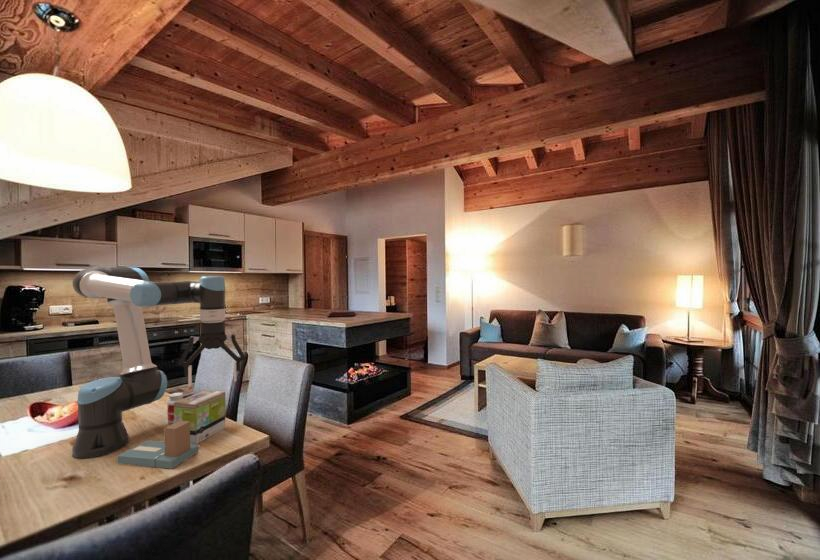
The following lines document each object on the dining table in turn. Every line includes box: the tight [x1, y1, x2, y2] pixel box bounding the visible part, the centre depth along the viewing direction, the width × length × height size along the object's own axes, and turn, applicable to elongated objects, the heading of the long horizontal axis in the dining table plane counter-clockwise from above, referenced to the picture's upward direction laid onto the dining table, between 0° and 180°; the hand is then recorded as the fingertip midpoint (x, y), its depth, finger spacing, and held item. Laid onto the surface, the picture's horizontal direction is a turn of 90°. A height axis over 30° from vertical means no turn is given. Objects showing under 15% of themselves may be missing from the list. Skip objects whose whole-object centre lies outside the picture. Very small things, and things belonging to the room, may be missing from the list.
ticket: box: [116, 439, 165, 468], centre depth 122 cm, size 14×11×3 cm
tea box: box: [173, 389, 226, 445], centre depth 138 cm, size 15×10×15 cm
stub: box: [155, 421, 200, 470], centre depth 120 cm, size 6×11×11 cm, turn 169°
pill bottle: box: [166, 392, 185, 424], centre depth 152 cm, size 6×6×11 cm
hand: (213, 383), depth 126 cm, fingers open, 13 cm apart
